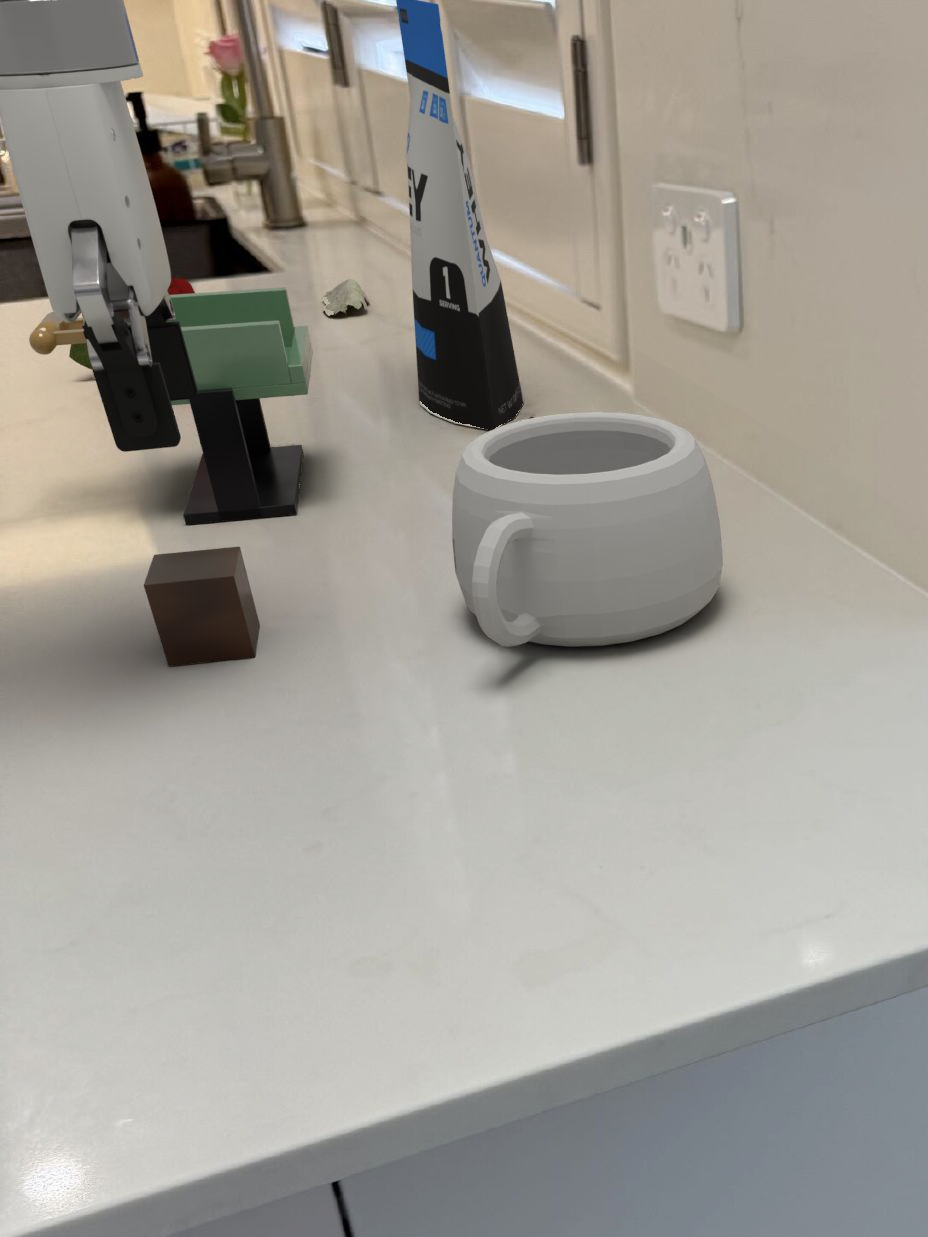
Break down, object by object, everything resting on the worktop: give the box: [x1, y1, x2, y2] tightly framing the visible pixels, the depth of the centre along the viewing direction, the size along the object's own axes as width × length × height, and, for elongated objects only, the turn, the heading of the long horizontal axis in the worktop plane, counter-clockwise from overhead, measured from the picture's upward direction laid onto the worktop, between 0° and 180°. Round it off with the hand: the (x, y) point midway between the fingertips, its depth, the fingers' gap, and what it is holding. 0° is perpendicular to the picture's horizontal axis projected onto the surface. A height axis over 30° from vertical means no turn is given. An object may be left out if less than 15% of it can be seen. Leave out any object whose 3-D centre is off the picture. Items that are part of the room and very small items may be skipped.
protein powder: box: [395, 0, 524, 431], centre depth 116 cm, size 10×24×30 cm, turn 19°
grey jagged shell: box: [322, 278, 370, 315], centre depth 158 cm, size 12×5×4 cm
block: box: [143, 546, 261, 667], centre depth 80 cm, size 5×5×5 cm
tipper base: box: [182, 388, 304, 526], centre depth 103 cm, size 8×16×9 cm, turn 13°
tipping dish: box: [28, 286, 314, 406], centre depth 99 cm, size 18×13×5 cm
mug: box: [451, 411, 724, 648], centre depth 81 cm, size 21×17×10 cm
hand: (161, 422), depth 74 cm, fingers open, 9 cm apart
